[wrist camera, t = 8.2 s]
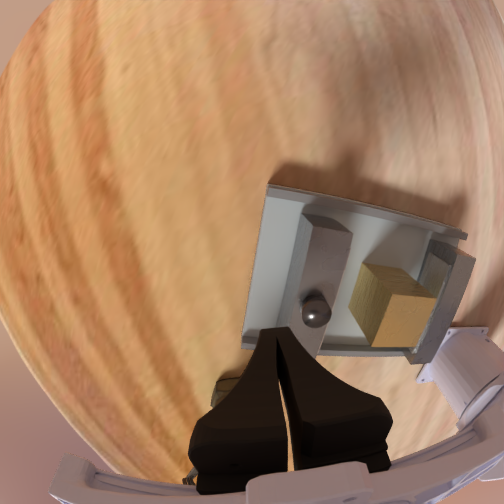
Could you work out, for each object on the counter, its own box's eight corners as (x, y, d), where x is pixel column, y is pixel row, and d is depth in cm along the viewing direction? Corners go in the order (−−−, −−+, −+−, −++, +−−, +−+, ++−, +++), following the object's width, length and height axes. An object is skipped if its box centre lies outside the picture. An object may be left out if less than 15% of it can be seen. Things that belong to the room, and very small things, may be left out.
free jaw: (337, 219, 19) (363, 239, 15) (306, 336, 22) (317, 376, 18) (300, 212, 19) (317, 230, 14) (274, 333, 22) (279, 374, 18)
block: (401, 268, 21) (436, 298, 16) (387, 310, 22) (415, 346, 17) (361, 262, 21) (392, 294, 15) (347, 307, 22) (371, 346, 17)
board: (455, 227, 21) (468, 233, 19) (411, 345, 25) (419, 356, 23) (267, 183, 20) (269, 186, 18) (241, 335, 24) (241, 349, 22)
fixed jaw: (448, 243, 20) (476, 258, 16) (412, 338, 23) (430, 363, 20) (427, 238, 20) (455, 253, 16) (391, 338, 23) (408, 364, 19)
